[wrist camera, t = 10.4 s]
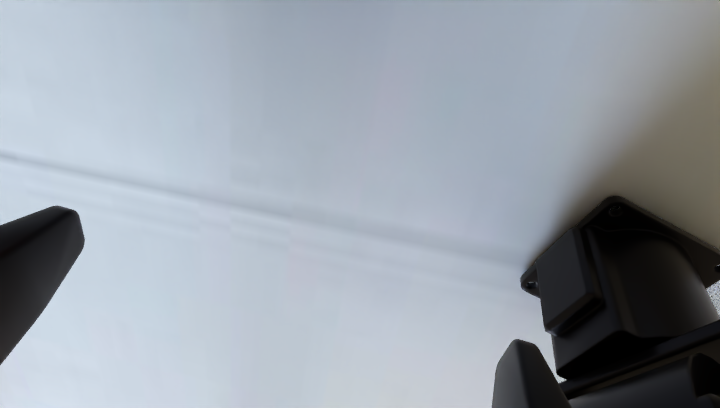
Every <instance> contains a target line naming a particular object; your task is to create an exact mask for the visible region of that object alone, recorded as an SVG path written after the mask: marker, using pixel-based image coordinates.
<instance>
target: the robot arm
mask: <svg viewBox="0 0 720 408" xmlns="http://www.w3.org/2000/svg"><path fill="white" fill-rule="evenodd" d="M615 206H618V207H619V208H618V209H617V210H610V209H611V208H612V207H615ZM84 242H85V239H84V234H83V230H82V226H81V222H80V218H79V215H78V213H77V212H76V211H74V210H72V209H68V208H65V207H61V206H52V207H49V208H46V209H44V210H41V211H38V212H35V213H33V214H30V215H27V216H25V217H22V218H19V219H16V220H14V221H11V222H8V223H6V224H3V225H0V365H1V364H2V362H3V361H4V360H5V359H6V357H7V356H8V355H9V354H10V352H11V351H12V350H13V349H14V347H15V346H16V345H17V344H18V342H19V341H20V340H21V339H22V337H23V336H24V335H25V334H26V332H27V331H28V330H29V329H30V327H31V326H32V325H33V324H34V322H35V321H36V320H37V318H38V317H39V316H40V314H41V313H42V312H43V310H44V309H45V307H46V306H47V304H48V303H49V301H50V300H51V298H52V297H53V295H54V294H55V292H56V291H57V289H58V287H59V286H60V284H61V283H62V281H63V280H64V278H65V276H66V275H67V273H68V272H69V270H70V269H71V267H72V266H73V264H74V262H75V261H76V259H77V258H78V256H79V255H80V253H81V251H82V249H83V247H84ZM719 264H720V250H718V249H716V248H714V247H712V246H711V245H709V244H707V243H705V242H703V241H701V240H700V239H698V238H696V237H694V236H692V235H691V234H689V233H687V232H685V231H683V230H681V229H680V228H678V227H676V226H674V225H672V224H670V223H669V222H667V221H665V220H663V219H661V218H659V217H658V216H656V215H654V214H652V213H650V212H648V211H647V210H645V209H643V208H641V207H639V206H637V205H636V204H634V203H632V202H630V201H628V200H626V199H625V198H623V197H620V196H612V197H608V198H607V199H605V200H604V201H603V202H602V203H600V204H599V205H598V206H597V207H596V208H595V209H594V210H593V211H592V212H591V213H590V214H588V215H587V216H586V217H585V218H584V219H583V220H582V221H581V222H580V223H579V224H578V225H576V226H575V227H573V228H571V229H569V230H568V231H567V232H566V233H565V234H564V235H563V236H562V237H561V238H560V239H559V240H557V241H556V242H555V243H554V244H553V245H552V246H551V247H550V248H549V249H548V250H547V251H546V252H544V253H543V254H542V255H541V256H540V257H539V258H538V259H537V260H536V263H535V264H534V265H533V266H532V267H531V268H530V269H528V270H527V271H526V272H525V273H524V274H523V275H522V276H521V278H520V282H521V288H522V289H523V290H524V291H526V292H528V293H530V294H532V295H534V296H536V297H538V298H540V299H541V307H542V315H543V323H544V328H545V331H546V332H548V333H550V334H551V337H552V344H553V351H554V358H555V365H556V372H557V375H559V376H560V377H562V378H564V379H566V381H563V382H561V383H558V382H557V380H556V378H555V377H554V375H553V373H552V371H551V370H550V368H549V366H548V364H547V362H546V361H545V359H544V357H543V355H542V354H541V352H540V350H539V348H538V347H537V346H536V345H535V344H533V343H530V342H526V341H523V340H519V339H515V340H513V341H512V342H511V344H510V345H509V347H508V348H507V350H506V351H505V353H504V354H503V356H502V357H501V359H500V360H499V362H498V365H497V368H496V373H495V383H494V392H493V401H492V408H720V317H719V315H718V313H717V311H716V309H715V307H714V305H713V303H712V301H711V299H710V297H709V295H708V293H707V291H706V288H708V287H710V286H711V285H713V284H714V283H716V282H717V281H719V280H720V265H719ZM716 265H719V266H716ZM528 282H534V283H528Z"/></svg>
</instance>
